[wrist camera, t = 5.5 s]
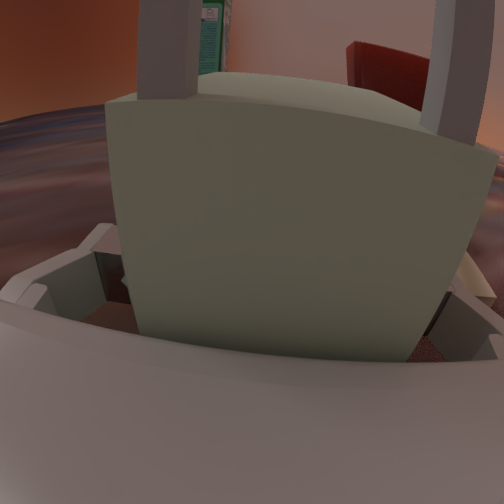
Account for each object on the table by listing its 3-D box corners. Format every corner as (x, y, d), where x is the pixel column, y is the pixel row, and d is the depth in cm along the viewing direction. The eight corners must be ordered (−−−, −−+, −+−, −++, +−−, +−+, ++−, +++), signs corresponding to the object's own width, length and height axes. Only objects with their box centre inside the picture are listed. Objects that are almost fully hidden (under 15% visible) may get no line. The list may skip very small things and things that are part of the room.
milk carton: (174, 120, 53) (179, -13, 39) (224, 121, 53) (233, -14, 39) (158, 131, 45) (164, -24, 31) (217, 133, 46) (227, -27, 31)
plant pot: (336, 121, 63) (346, 46, 53) (420, 141, 60) (433, 68, 51) (340, 142, 47) (354, 39, 38) (449, 168, 45) (469, 73, 35)
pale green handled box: (180, 458, 10) (137, -156, 1) (212, 323, 15) (226, -45, 7) (319, 473, 9) (509, -98, 1) (315, 335, 15) (385, -25, 6)
